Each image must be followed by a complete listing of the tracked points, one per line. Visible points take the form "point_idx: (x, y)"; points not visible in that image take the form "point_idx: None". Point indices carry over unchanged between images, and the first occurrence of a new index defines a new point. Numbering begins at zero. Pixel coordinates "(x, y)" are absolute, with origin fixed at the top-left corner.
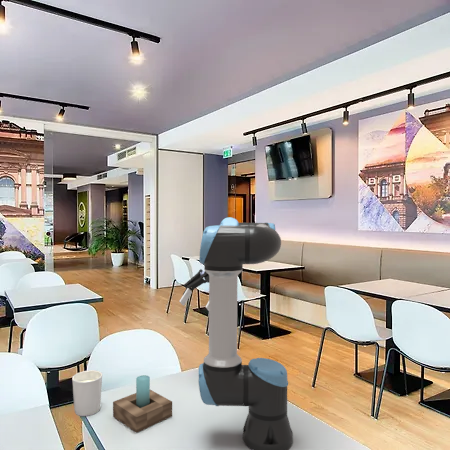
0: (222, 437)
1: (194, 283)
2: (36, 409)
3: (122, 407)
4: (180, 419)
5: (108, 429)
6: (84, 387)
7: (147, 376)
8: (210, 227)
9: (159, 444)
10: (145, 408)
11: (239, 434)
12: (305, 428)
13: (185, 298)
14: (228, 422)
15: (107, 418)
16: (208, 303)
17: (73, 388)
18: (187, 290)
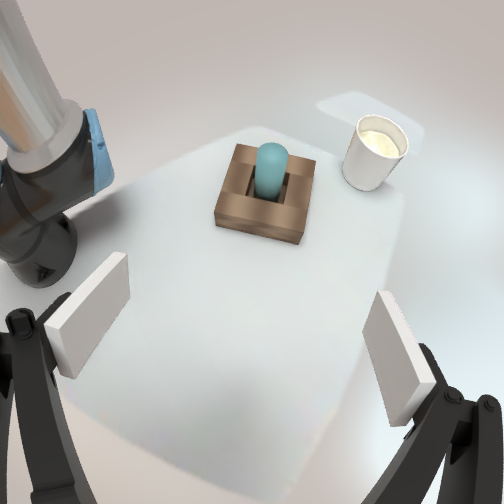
0: (104, 217)
1: (409, 448)
2: (415, 148)
3: None
4: (194, 224)
5: None
6: (360, 124)
7: (270, 164)
8: None
9: (185, 157)
10: (244, 168)
11: (82, 238)
12: (6, 306)
13: (381, 341)
14: None
15: None
16: (103, 265)
17: (381, 129)
18: (412, 363)
